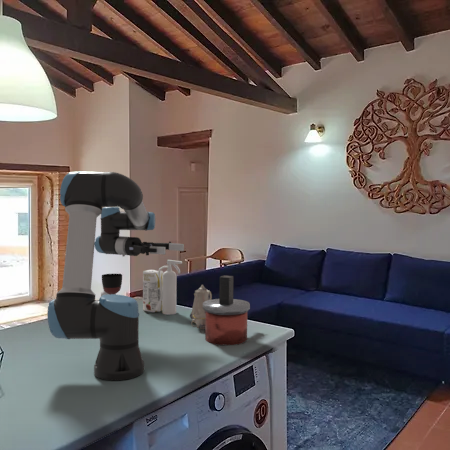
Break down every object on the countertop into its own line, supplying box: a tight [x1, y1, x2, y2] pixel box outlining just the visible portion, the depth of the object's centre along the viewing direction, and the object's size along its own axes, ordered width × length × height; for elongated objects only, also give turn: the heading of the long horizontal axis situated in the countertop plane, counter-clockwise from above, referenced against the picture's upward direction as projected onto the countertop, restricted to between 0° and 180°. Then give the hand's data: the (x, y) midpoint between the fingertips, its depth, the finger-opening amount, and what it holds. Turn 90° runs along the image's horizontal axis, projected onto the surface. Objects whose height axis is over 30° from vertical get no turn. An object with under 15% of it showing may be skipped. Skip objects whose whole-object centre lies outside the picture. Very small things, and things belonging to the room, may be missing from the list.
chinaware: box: [189, 284, 213, 330], centre depth 205 cm, size 28×17×17 cm, turn 154°
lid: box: [203, 275, 251, 314], centre depth 181 cm, size 18×18×12 cm
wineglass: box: [101, 273, 123, 295], centre depth 206 cm, size 8×9×20 cm
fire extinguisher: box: [154, 259, 183, 316], centre depth 220 cm, size 7×12×25 cm, turn 90°
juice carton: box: [142, 269, 164, 313], centre depth 225 cm, size 8×9×19 cm
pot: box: [204, 300, 249, 346], centre depth 186 cm, size 27×17×12 cm, turn 155°
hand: (174, 249), depth 183 cm, fingers open, 13 cm apart
